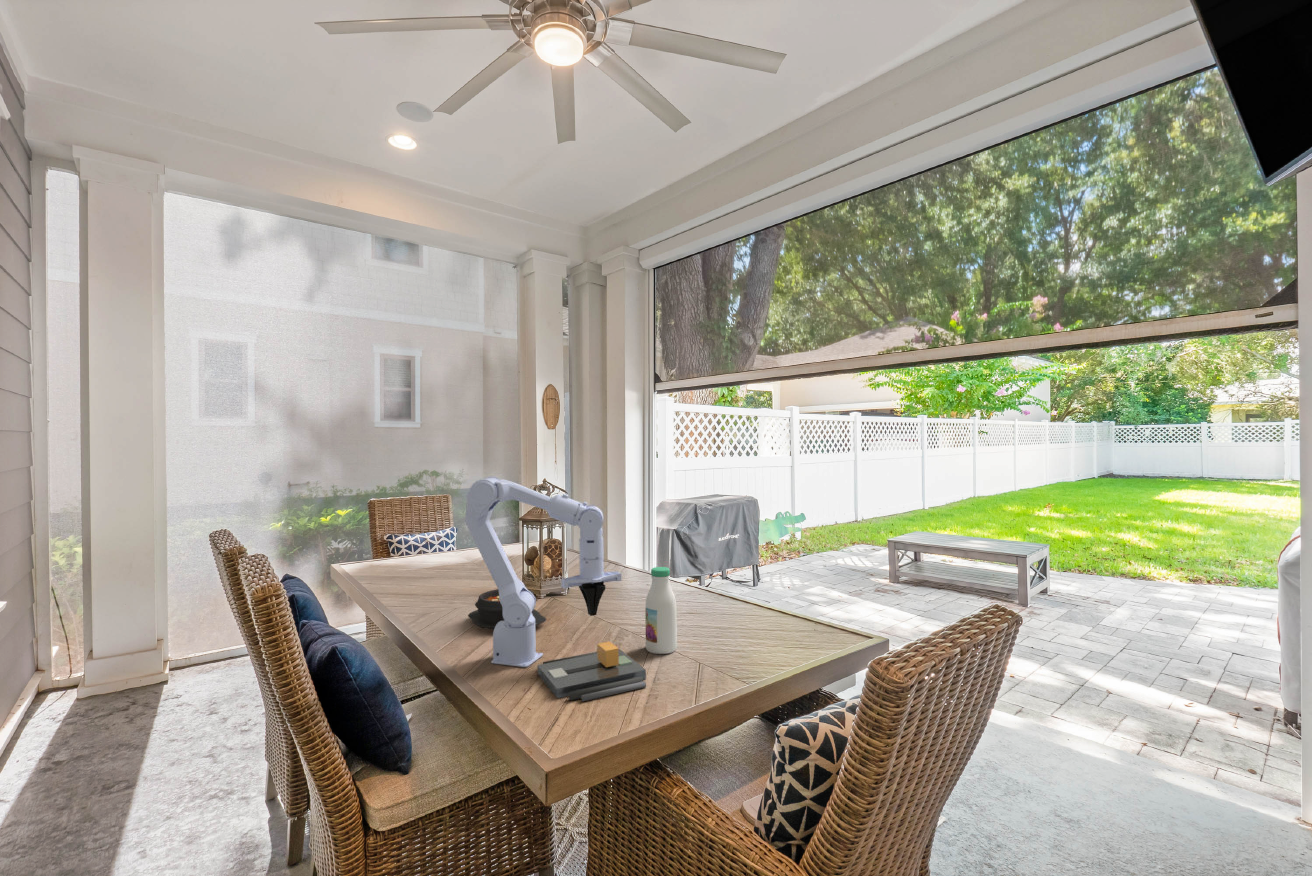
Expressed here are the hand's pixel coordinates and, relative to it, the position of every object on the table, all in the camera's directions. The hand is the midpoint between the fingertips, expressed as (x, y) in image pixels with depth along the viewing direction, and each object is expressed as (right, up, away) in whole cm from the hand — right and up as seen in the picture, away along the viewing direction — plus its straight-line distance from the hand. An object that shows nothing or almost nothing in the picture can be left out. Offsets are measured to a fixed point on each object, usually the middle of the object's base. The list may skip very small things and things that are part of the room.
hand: (592, 614), depth 142 cm
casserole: (-27, -11, +27) cm, 40 cm away
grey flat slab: (+1, -11, -11) cm, 15 cm away
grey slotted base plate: (+1, -11, -11) cm, 15 cm away
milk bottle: (+16, -10, +5) cm, 20 cm away
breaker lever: (+4, -8, -9) cm, 13 cm away
